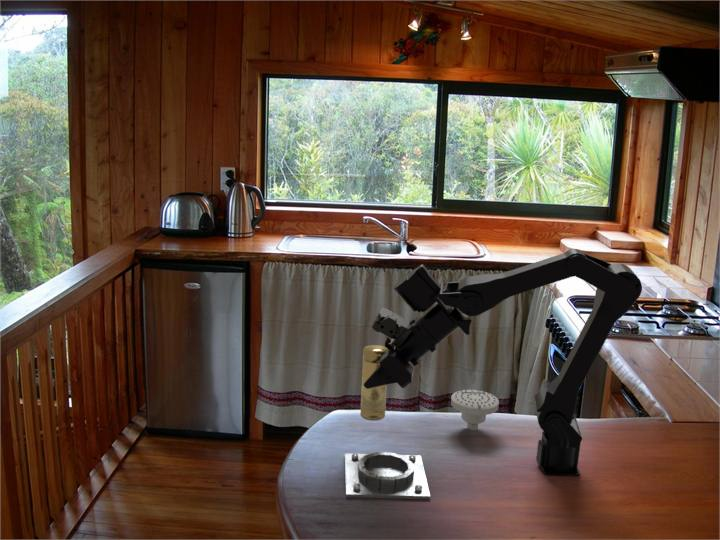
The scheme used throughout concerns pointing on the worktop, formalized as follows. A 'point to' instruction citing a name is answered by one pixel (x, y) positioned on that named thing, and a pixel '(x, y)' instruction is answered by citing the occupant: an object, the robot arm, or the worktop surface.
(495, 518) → the worktop surface
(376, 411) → the brass cylinder
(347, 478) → the floor flange
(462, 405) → the showerhead
